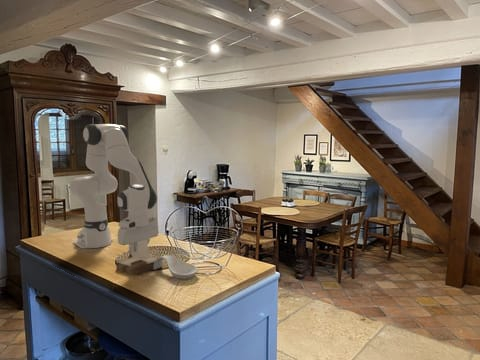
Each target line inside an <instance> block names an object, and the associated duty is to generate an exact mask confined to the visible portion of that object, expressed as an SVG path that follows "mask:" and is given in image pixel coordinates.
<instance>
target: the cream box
mask: <svg viewBox="0 0 480 360" xmlns="http://www.w3.org/2000/svg"><path fill="white" fill-rule="evenodd" d="M133 246H134V247H135V248H136V252H132V255H131V257H133V258H137V259H141V258H144V257H147V256H149V252H148V251H149V249H148V247H149V243H148V244H147V239H145V240H141V241H137V242H135V243H134V245H133Z"/></svg>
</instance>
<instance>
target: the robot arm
mask: <svg viewBox="0 0 480 360" xmlns="http://www.w3.org/2000/svg"><path fill="white" fill-rule="evenodd" d="M82 137H83V140H84V142H85V144H86V145H87V147H86V156H85V157H86V158H85V166H86V167H87V168H88V169H89V170H91V171H92V172H94V175H88V176H87V175H86V176H79V177H75V178H73V179H72V180H70V183H69V191H70V194H72V196H74V197H76V198H77V199H78V200H79V201H80V202H81V203H82V206H83V207H84V216H85V217H84V218H85V219H84V221H83V227H82V228H81V229H80V231H78V233H77V235H76V237H77V238H76V240H73V244H74V245H75V246H77V247H79V248H80V249H97V248H103V247H107V246H110V245H111V244H112V242H113V241H114V240H113V238H112V237H111V230H110V227H109V224H108V223H109V221H108V220H109V219H108V217H107V216H108V215H107V205H106V204H105V203H103V202H101V201H99V200H97V196H103V195H109V194H111V193H114V192H116V191H117V190H118V189H117V188H118V185H119V184H118V180H117V178H116V177H115V176H114V175H113V174H112V173H111V172H110V169H109V164H110V165H111V166H113V167H114V168H116V169H120V170H123V171H127V172H129V173H131V174H132V175H133V176H134V177H135V178H136V181H137V183H134V184H130V185H129V186H128V187H127V189H124V190H122V191H120V192H119V193H118V195H117V197H116V204H117V208H119V210H122V211H125V212H128V214H127V217H125V218H124V219H122V220H120V221H119V222H118V223H117V224H118V227H119V228H118V230H117V243H118V244H119V245H121V246H126V245H127V246H128V247H129V246H130V248H131V252H136V248H135V247H134V246H133V245H134V243H135V242H137V241H141V240H145V239H147V244H148V245H149V243H150V241H151V239H152V238H155V237H158V236H159V233H160V232H159V225H158V220H157V218H156V217H153V216H152V217H150V215H149V210H151V209H152V208H154V207H155V206H156V204H157V202H158V196H157V193H156V191H155V189H154V188H153V187H152V184H151V183H150V180H149V178H148V176H147V173H146V171H145V169H144V167H143V165H142V162H141V161H140V160H139V159H138V158H137V157H135V155H134V154H133V153H132V151H131V150H130V145H129V143H128V140H129V130H128V128H127V127H126V126H125V125H121V124H114V123H113V124H112V123H98V124H95V123H91V124H86V125H85V127H84V128H83V131H82Z"/></svg>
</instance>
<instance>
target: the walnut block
mask: <svg viewBox="0 0 480 360" xmlns="http://www.w3.org/2000/svg"><path fill="white" fill-rule="evenodd" d="M157 258H158V257H154V256H151V255H148V256H147V257H144V258H141V259H137V258H133V257H132V256H130V257H127V258H123V259H121V260H117V261H116V262H115V264H116V271H117V270H118V271H120V272H123V273H126V274H129V275H133V276H135V277H138V276H140V275H143V274H145V273H148V272H151V271H153V270H154V269H153V266H154V262H155V261H156V259H157Z"/></svg>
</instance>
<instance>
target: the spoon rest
mask: <svg viewBox="0 0 480 360" xmlns="http://www.w3.org/2000/svg"><path fill="white" fill-rule="evenodd" d="M156 258H157V259H156V261H155V262H154V266H153V270H158V269H161V268H162V266H163V265H162V264H163V260H165V262H166V265H167V268H168V270H169V272H170V274H171V276H172V277H174V278H175V279H177V280H182V281H183V280H184V281H185V280H188V279H191V278H193V277H194V276H196V275H197V274H198V272H199V268H198V267H197V266H195V265H194V264H192V263H188V262H186V261H184V260H181V259H179V258H177V257H174V256H172V255H162V256H159V257H156ZM160 267H161V268H160ZM157 268H158V269H157Z"/></svg>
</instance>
